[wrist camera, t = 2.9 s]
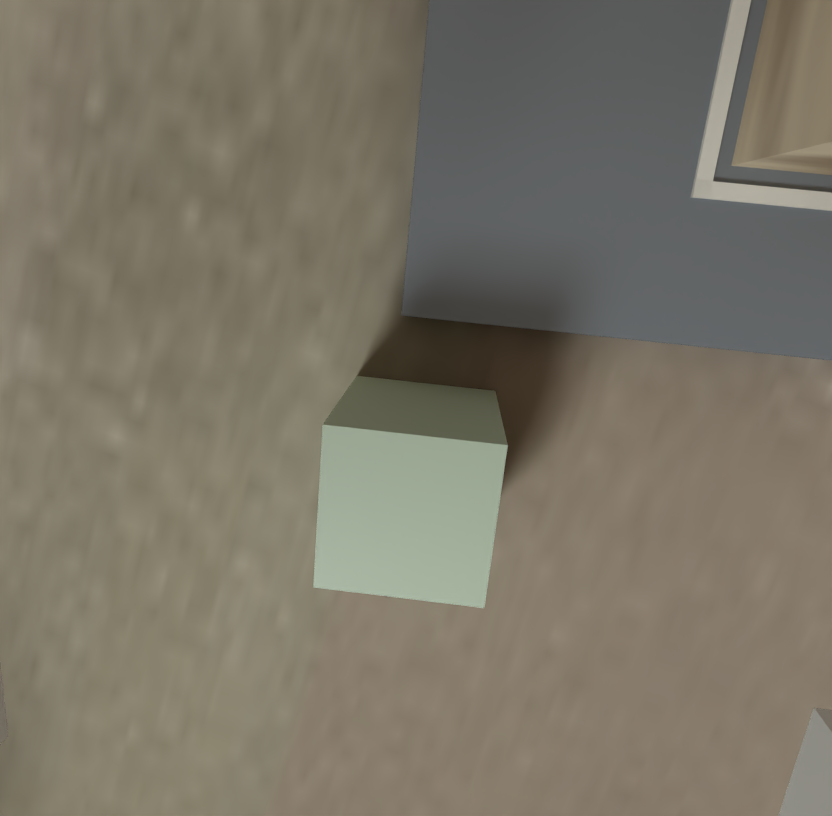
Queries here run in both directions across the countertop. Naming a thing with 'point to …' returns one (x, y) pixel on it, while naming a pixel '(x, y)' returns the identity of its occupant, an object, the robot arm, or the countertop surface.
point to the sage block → (410, 491)
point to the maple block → (790, 91)
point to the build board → (609, 180)
